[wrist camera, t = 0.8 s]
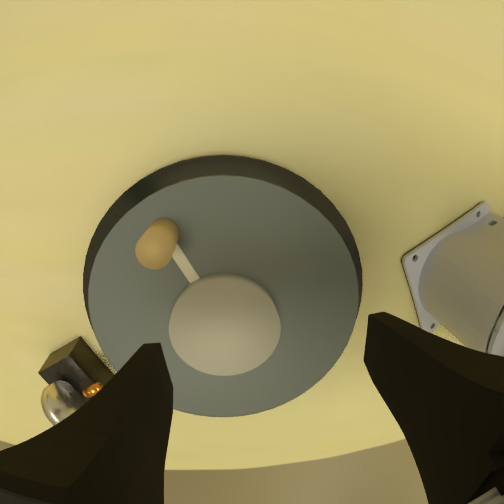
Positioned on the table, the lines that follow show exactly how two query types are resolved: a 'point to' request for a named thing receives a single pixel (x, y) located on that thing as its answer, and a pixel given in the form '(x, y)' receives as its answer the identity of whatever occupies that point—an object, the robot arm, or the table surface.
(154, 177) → the plinth
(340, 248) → the disc
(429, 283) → the robot arm
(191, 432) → the table surface
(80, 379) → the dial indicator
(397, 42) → the table surface
